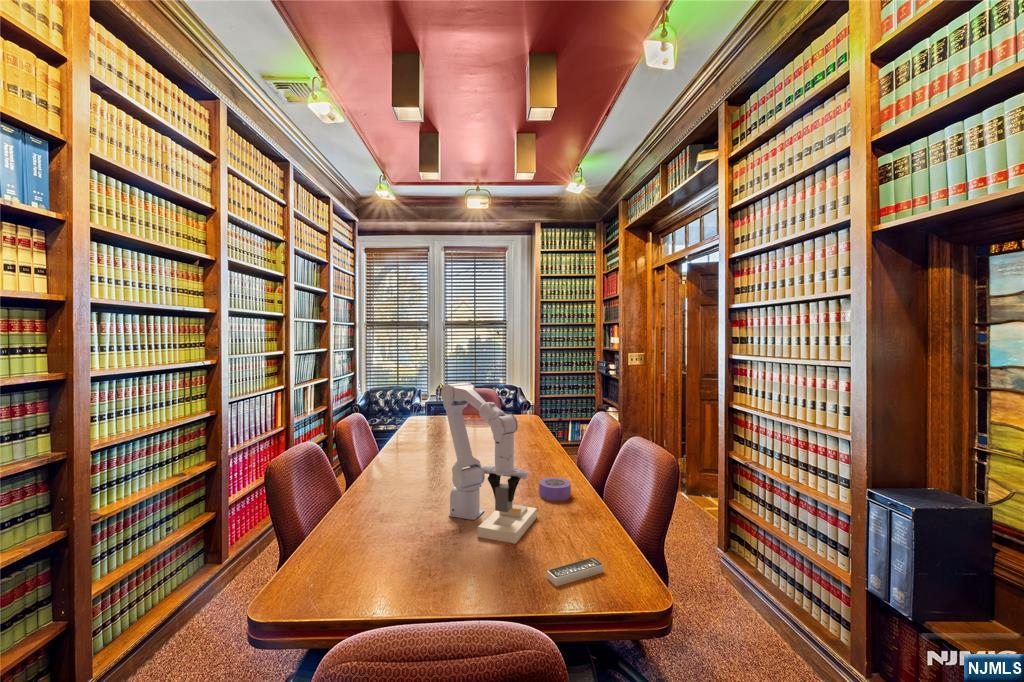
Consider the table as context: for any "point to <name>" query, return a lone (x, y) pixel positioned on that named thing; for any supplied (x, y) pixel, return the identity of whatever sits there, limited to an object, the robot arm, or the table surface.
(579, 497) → the table surface
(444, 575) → the table surface
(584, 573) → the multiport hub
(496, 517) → the socket plate
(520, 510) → the shutter
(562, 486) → the tape roll
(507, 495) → the plug
